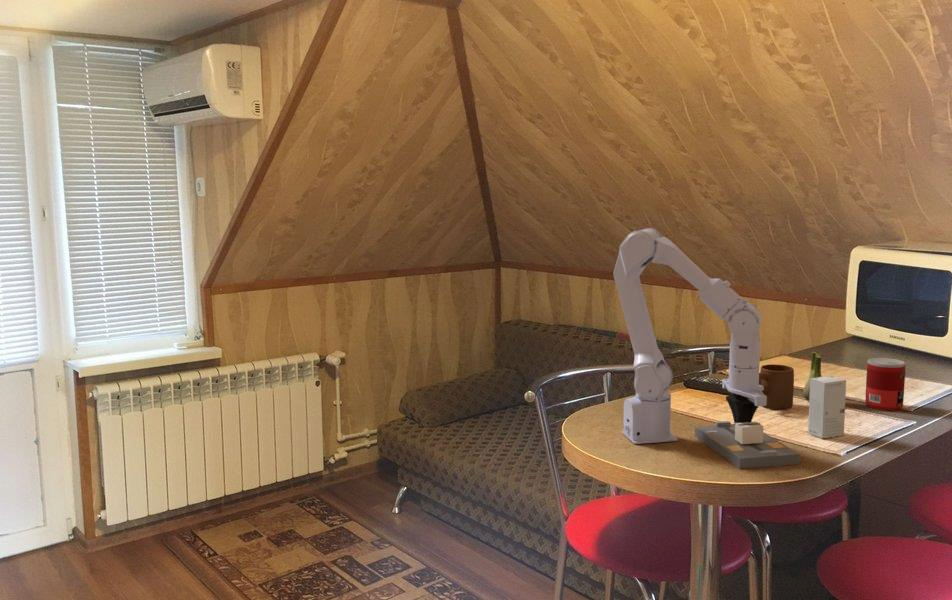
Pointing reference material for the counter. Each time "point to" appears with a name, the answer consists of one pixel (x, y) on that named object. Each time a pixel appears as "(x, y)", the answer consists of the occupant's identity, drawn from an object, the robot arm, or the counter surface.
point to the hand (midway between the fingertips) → (742, 431)
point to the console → (745, 447)
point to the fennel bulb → (813, 373)
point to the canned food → (885, 384)
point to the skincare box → (827, 406)
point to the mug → (777, 386)
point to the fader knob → (749, 432)
